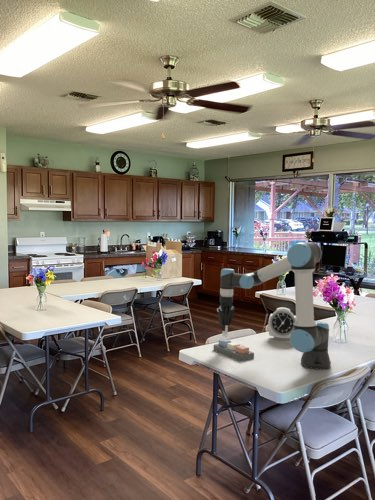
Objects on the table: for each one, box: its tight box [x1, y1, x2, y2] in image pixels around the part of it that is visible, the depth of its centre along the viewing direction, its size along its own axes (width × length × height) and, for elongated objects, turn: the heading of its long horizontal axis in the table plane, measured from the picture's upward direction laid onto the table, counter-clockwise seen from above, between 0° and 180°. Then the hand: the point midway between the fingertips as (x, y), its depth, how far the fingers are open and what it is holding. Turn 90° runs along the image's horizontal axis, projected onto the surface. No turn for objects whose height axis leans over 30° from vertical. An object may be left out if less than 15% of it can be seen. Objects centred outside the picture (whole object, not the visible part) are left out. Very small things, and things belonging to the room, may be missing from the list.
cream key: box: [227, 341, 241, 351], centre depth 242 cm, size 5×5×3 cm
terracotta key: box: [236, 344, 250, 354], centre depth 235 cm, size 5×5×3 cm
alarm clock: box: [267, 306, 296, 342], centre depth 275 cm, size 18×8×20 cm, turn 76°
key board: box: [213, 343, 255, 362], centre depth 242 cm, size 23×10×3 cm, turn 35°
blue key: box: [218, 338, 232, 347], centre depth 248 cm, size 5×5×3 cm
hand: (224, 336), depth 248 cm, fingers closed
